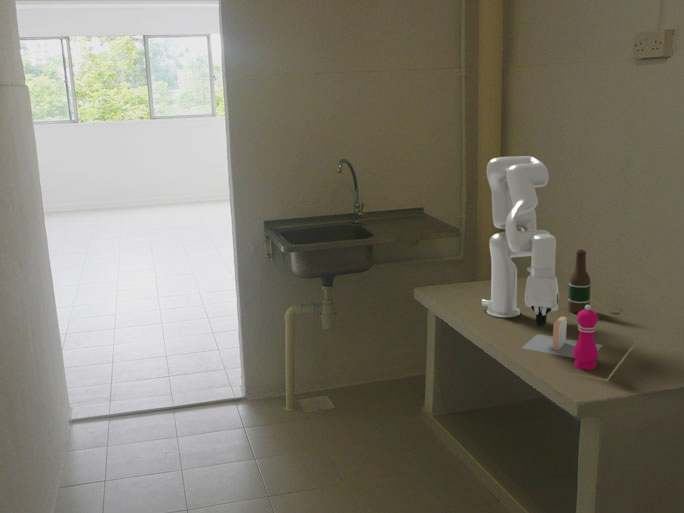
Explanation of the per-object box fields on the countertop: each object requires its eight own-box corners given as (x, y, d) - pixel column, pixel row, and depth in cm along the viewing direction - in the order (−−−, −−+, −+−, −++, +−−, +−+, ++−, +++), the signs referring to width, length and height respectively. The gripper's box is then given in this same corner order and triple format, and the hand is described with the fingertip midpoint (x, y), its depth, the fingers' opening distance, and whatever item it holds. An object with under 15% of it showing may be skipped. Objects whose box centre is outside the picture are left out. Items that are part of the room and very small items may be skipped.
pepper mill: (568, 363, 215) (571, 302, 210) (591, 362, 215) (594, 300, 211) (578, 372, 208) (581, 309, 203) (601, 371, 208) (605, 307, 204)
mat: (521, 349, 228) (521, 348, 227) (537, 335, 240) (537, 334, 240) (589, 362, 215) (589, 360, 215) (602, 346, 228) (602, 345, 228)
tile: (552, 349, 226) (553, 323, 224) (560, 342, 232) (561, 316, 230) (558, 350, 225) (559, 324, 223) (565, 343, 231) (567, 317, 229)
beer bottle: (589, 309, 269) (592, 248, 263) (589, 315, 261) (592, 253, 256) (568, 307, 271) (570, 248, 266) (567, 313, 264) (570, 252, 259)
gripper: (516, 272, 228) (515, 325, 232) (562, 277, 219) (559, 332, 223) (524, 267, 234) (523, 319, 238) (569, 272, 225) (566, 325, 229)
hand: (541, 325), depth 230 cm, fingers closed
